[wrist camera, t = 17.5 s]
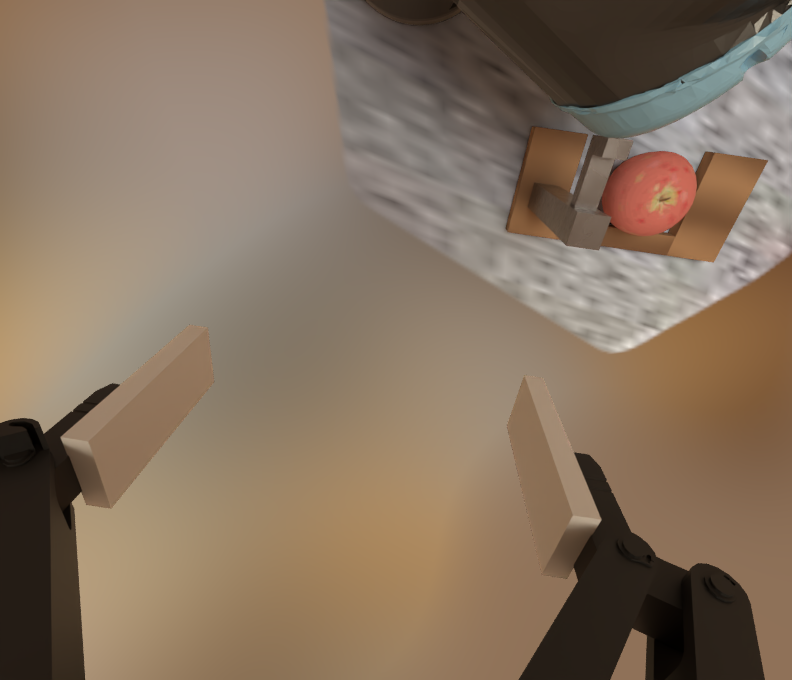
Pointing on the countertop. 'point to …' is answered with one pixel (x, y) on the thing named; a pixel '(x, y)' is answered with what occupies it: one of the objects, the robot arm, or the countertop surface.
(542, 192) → the hook post
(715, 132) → the countertop surface
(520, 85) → the countertop surface
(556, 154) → the brown u-shaped bracket
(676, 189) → the apple
